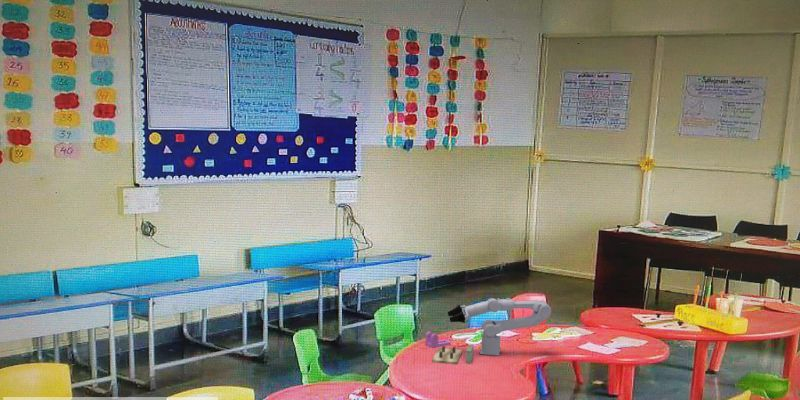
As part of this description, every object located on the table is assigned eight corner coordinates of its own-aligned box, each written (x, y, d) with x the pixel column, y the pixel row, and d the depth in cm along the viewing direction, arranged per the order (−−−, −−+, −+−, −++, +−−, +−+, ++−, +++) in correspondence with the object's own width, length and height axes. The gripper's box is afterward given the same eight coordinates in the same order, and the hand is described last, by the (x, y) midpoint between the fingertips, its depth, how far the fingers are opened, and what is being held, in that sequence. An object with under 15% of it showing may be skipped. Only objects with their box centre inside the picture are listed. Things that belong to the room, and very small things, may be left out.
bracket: (431, 348, 372) (432, 334, 372) (425, 345, 377) (426, 332, 376) (452, 344, 379) (452, 331, 379) (446, 341, 384) (446, 328, 383)
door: (472, 357, 359) (473, 345, 358) (470, 363, 349) (471, 351, 349) (468, 356, 359) (468, 344, 359) (465, 363, 350) (466, 350, 349)
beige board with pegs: (462, 351, 367) (462, 344, 367) (457, 364, 347) (457, 357, 347) (438, 349, 369) (438, 342, 369) (432, 362, 350) (432, 354, 349)
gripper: (471, 297, 370) (445, 304, 370) (475, 307, 356) (448, 315, 356) (474, 310, 372) (448, 317, 372) (479, 320, 357) (452, 328, 357)
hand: (448, 317), depth 364 cm, fingers open, 7 cm apart
